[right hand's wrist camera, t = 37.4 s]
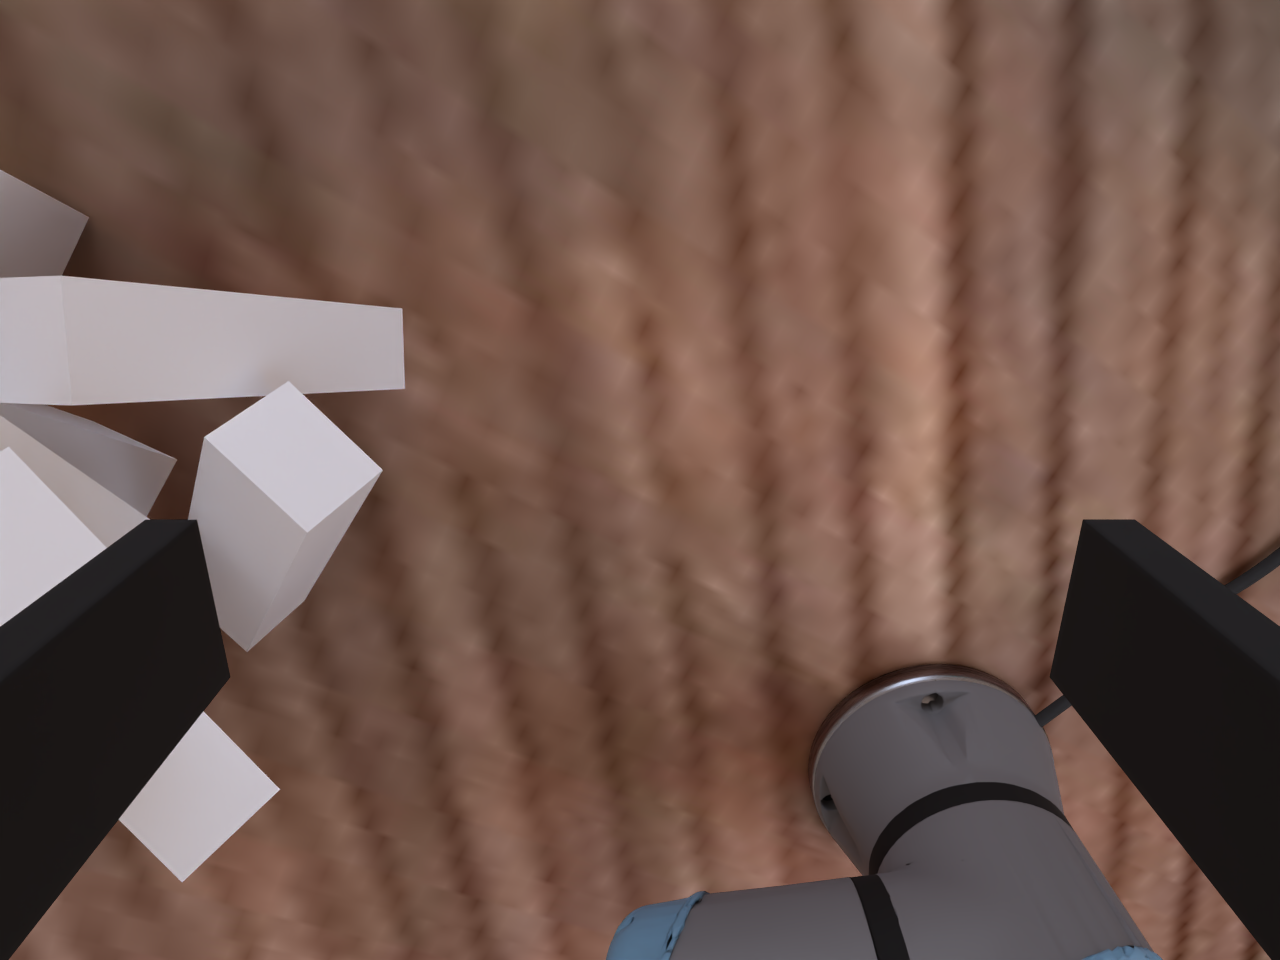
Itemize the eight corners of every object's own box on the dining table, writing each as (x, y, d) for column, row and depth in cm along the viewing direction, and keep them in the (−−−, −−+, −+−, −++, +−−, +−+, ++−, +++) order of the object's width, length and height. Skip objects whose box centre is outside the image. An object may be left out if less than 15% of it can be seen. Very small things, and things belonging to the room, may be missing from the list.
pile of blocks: (475, 686, 59) (633, 948, 26) (-16, 848, 50) (-738, 1580, 17) (348, 197, 56) (348, -200, 23) (-198, 269, 47) (-1503, -230, 14)
